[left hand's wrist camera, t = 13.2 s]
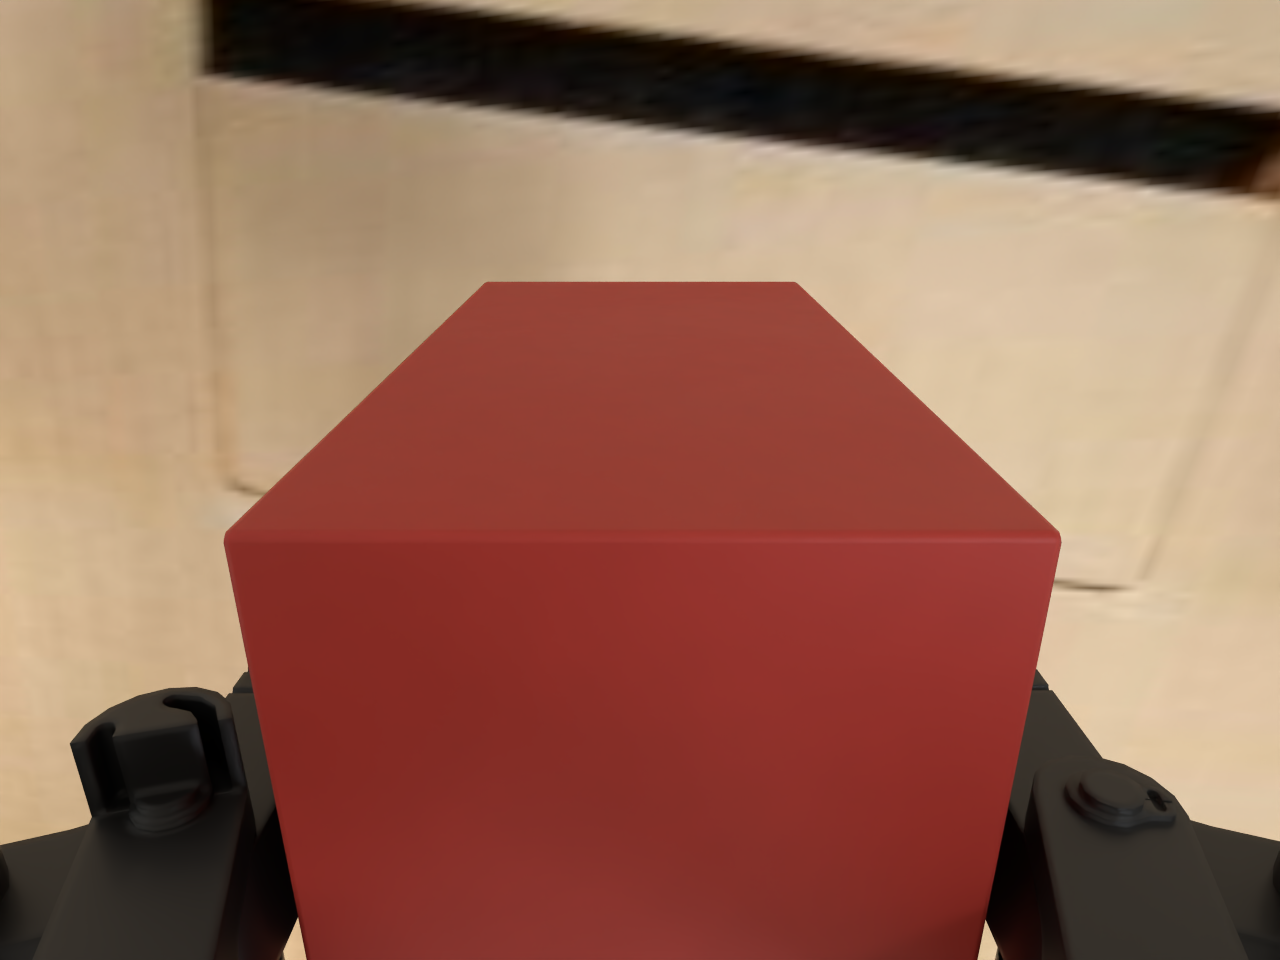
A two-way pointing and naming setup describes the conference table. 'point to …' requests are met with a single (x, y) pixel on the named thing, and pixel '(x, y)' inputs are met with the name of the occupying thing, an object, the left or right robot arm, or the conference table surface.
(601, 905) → the block
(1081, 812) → the left robot arm
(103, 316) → the conference table surface
